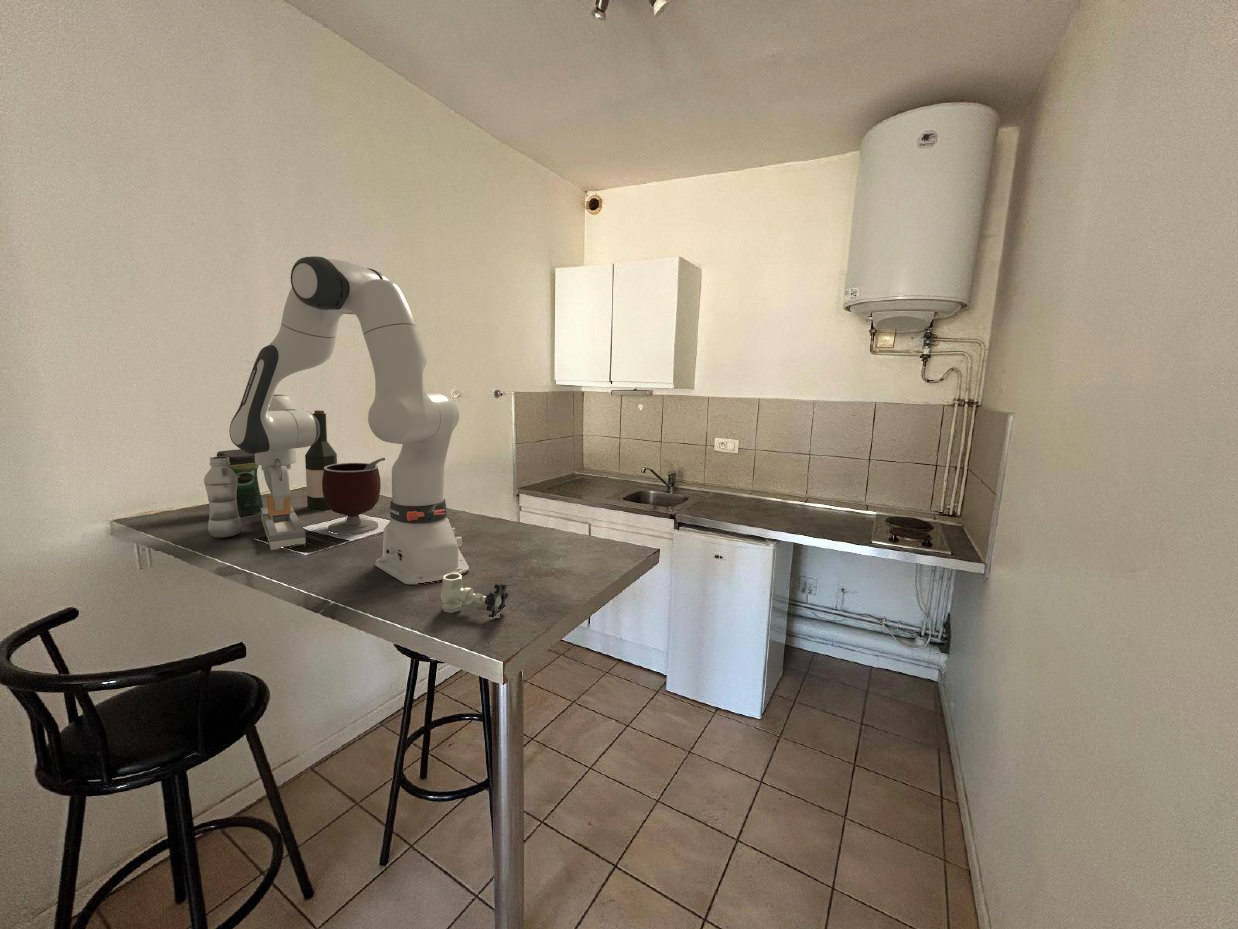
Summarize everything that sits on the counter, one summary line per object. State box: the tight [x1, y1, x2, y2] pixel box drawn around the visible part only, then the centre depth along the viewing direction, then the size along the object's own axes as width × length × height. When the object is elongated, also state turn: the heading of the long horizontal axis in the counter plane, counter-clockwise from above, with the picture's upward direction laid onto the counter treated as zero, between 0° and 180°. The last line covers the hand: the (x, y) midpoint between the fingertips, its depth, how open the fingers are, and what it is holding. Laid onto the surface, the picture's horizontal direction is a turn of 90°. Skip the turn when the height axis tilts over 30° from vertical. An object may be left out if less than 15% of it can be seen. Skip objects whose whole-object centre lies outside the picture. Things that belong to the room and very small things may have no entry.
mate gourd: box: [322, 457, 386, 535], centre depth 133 cm, size 16×14×20 cm
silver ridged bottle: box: [203, 456, 243, 539], centre depth 121 cm, size 6×7×20 cm
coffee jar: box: [216, 448, 264, 517], centre depth 140 cm, size 10×8×19 cm
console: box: [260, 504, 307, 551], centre depth 128 cm, size 28×7×4 cm, turn 39°
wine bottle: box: [304, 409, 338, 512], centre depth 149 cm, size 8×8×30 cm
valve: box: [440, 573, 509, 618], centre depth 91 cm, size 7×7×12 cm
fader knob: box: [266, 494, 292, 522], centre depth 130 cm, size 3×5×7 cm, turn 129°
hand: (278, 507), depth 130 cm, fingers closed on fader knob, 2 cm apart
